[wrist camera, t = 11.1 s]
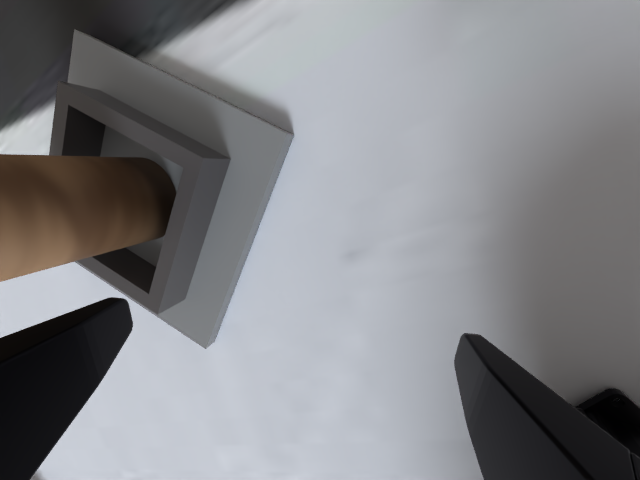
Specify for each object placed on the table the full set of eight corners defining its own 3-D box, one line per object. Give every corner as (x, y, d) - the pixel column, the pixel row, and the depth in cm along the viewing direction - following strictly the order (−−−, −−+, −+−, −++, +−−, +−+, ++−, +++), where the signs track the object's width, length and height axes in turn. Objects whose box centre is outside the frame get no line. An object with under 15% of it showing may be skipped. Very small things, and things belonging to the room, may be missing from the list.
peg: (191, 221, 21) (-139, 301, 9) (137, 250, 23) (-189, 346, 11) (153, 142, 20) (-248, 111, 8) (101, 178, 22) (-279, 196, 10)
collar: (294, 134, 18) (265, 128, 15) (214, 341, 24) (180, 369, 20) (89, 35, 21) (28, 11, 18) (59, 240, 27) (9, 250, 23)
